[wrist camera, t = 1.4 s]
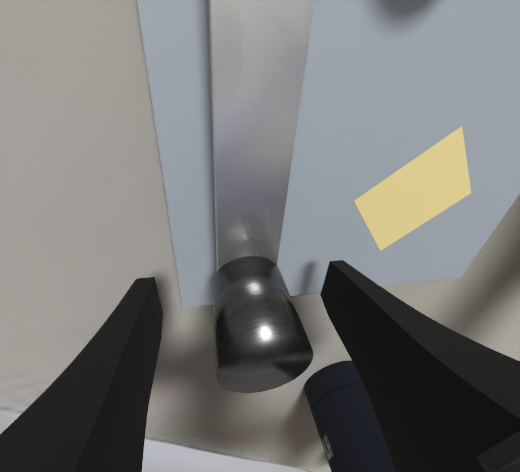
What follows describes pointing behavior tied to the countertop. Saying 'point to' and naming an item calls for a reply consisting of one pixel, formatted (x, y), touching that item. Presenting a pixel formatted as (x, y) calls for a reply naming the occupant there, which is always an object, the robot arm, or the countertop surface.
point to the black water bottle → (347, 421)
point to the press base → (356, 138)
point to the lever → (255, 186)
